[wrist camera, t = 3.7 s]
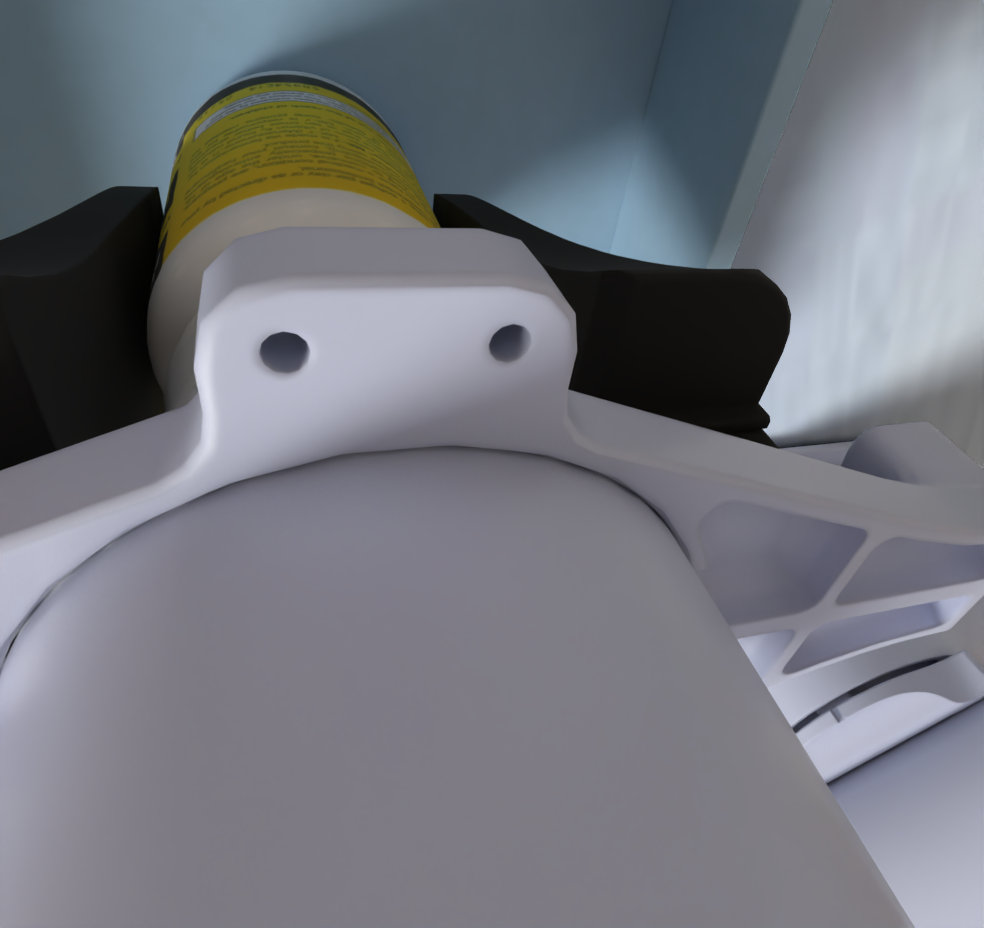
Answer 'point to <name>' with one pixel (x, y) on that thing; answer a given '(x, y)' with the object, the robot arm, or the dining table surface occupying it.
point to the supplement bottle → (267, 192)
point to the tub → (434, 101)
